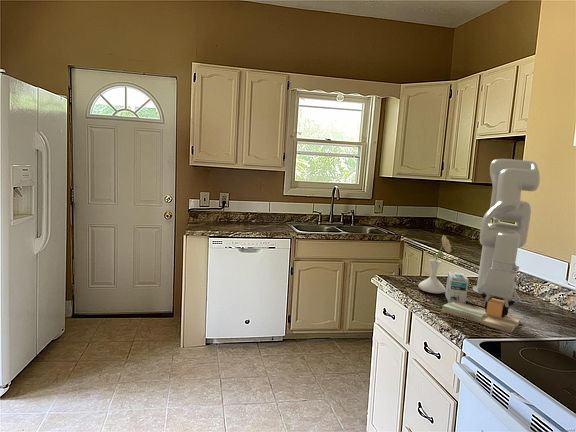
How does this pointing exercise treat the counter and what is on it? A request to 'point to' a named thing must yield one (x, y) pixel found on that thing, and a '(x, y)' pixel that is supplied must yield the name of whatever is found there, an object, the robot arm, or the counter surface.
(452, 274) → the light bulb box
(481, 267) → the robot arm
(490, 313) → the stub
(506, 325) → the board
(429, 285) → the flower in vase
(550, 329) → the counter surface
